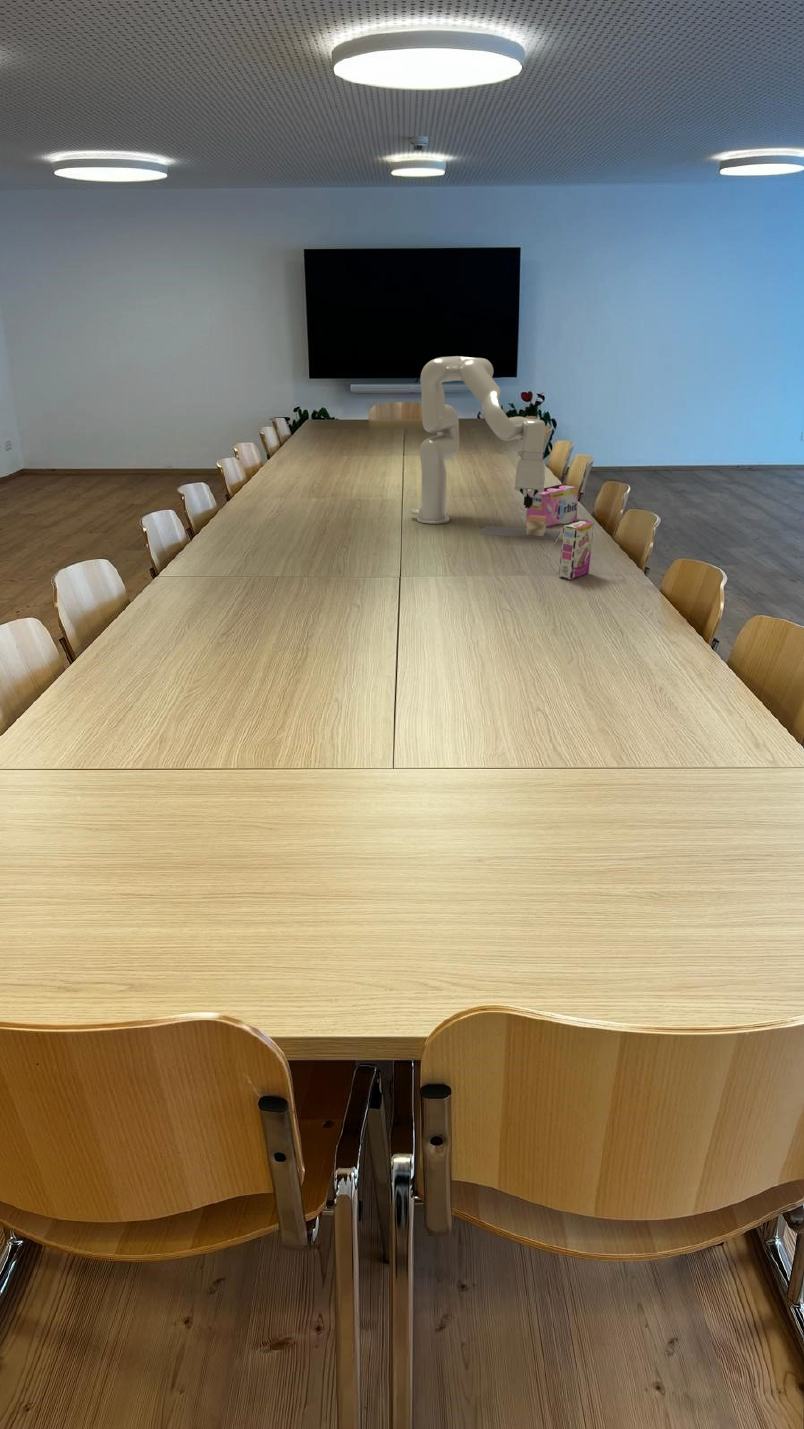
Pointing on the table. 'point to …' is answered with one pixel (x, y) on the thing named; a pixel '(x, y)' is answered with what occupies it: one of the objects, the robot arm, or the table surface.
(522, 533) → the rubber mat
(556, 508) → the gum box
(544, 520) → the maple cube
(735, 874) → the table surface
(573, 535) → the candy bar box
